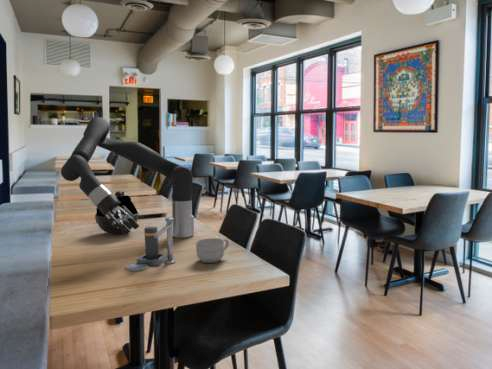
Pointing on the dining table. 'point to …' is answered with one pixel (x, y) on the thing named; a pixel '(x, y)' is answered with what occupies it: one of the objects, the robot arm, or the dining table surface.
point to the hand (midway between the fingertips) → (133, 230)
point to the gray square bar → (164, 228)
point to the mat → (136, 267)
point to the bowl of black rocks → (116, 231)
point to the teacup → (211, 249)
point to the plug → (151, 243)
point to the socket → (158, 261)
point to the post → (170, 246)
